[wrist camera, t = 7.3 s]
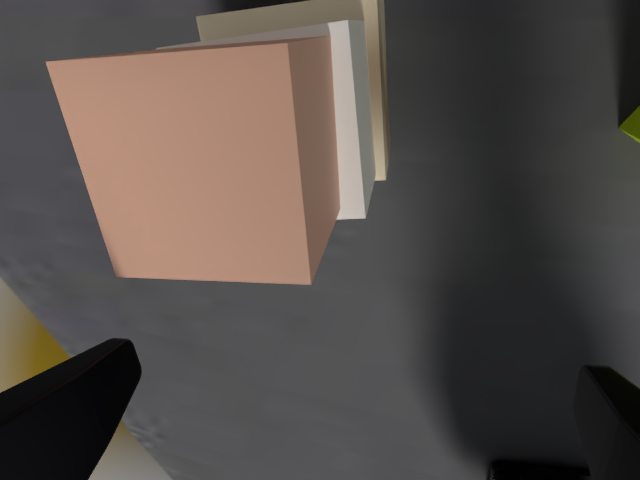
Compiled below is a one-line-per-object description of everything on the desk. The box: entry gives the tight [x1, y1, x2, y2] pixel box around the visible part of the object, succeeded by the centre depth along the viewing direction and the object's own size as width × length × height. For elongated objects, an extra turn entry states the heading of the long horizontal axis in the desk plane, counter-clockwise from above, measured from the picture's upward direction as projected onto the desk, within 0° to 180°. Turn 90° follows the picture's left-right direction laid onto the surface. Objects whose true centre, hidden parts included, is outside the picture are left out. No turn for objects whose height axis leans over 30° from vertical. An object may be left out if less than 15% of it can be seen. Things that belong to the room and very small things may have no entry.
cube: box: [46, 36, 341, 285], centre depth 10 cm, size 4×4×4 cm
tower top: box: [156, 20, 376, 220], centre depth 13 cm, size 5×5×4 cm
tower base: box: [196, 0, 391, 181], centre depth 17 cm, size 6×6×4 cm
